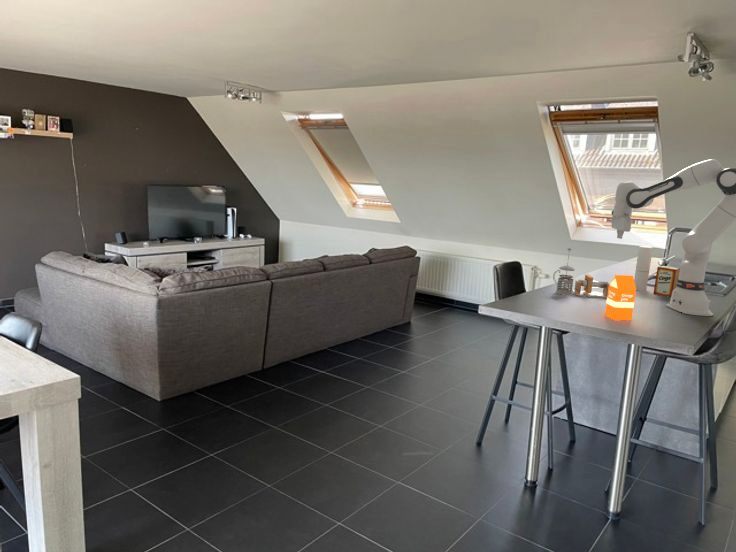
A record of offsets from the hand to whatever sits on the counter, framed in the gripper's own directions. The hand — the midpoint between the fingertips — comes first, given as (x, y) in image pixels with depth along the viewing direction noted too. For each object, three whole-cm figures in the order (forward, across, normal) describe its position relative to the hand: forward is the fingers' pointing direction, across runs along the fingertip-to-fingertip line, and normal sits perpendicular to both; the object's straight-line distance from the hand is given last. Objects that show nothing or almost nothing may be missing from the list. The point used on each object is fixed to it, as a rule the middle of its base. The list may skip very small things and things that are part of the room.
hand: (619, 238), depth 293 cm
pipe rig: (+31, -4, +12) cm, 33 cm away
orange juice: (+32, -53, +14) cm, 63 cm away
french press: (+31, -5, +28) cm, 42 cm away
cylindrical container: (+32, +24, -23) cm, 46 cm away
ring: (+29, -4, +15) cm, 33 cm away
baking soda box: (+32, +11, -31) cm, 46 cm away
